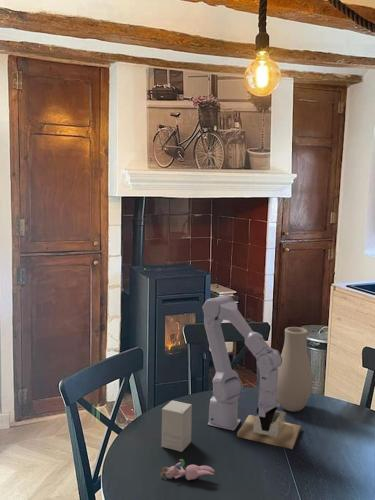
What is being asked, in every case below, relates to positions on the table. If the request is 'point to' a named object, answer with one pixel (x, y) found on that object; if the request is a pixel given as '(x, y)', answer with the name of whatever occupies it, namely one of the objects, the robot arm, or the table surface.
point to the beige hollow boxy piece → (271, 424)
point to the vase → (294, 371)
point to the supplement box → (176, 425)
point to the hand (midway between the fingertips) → (266, 428)
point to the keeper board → (283, 440)
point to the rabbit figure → (186, 471)
